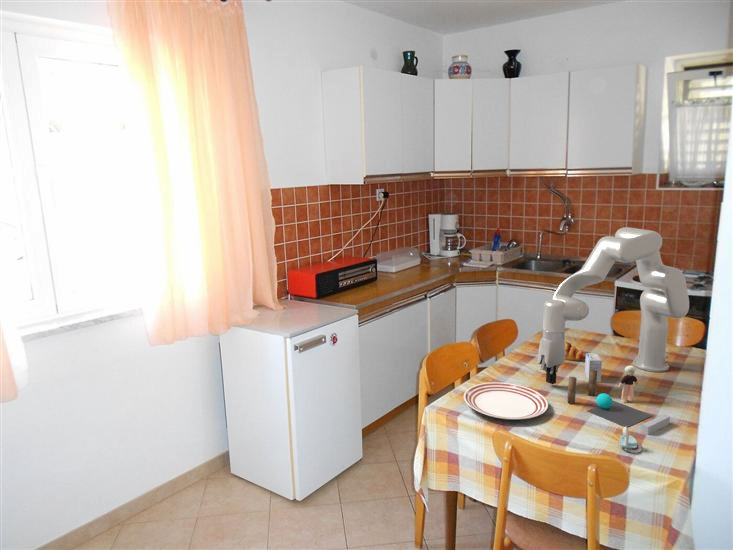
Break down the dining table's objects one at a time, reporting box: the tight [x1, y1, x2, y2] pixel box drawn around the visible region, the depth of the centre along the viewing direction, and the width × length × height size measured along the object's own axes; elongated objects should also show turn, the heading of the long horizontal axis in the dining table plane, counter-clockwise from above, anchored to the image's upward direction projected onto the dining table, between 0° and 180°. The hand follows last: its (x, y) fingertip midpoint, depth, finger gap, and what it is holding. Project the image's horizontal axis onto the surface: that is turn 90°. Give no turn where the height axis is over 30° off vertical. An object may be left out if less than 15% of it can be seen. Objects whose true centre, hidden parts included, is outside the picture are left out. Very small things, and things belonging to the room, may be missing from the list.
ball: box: [595, 392, 614, 409], centre depth 181 cm, size 5×5×5 cm
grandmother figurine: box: [617, 365, 639, 404], centre depth 185 cm, size 8×4×13 cm, turn 118°
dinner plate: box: [463, 381, 549, 420], centre depth 183 cm, size 27×27×3 cm
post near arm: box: [587, 369, 597, 397], centre depth 191 cm, size 2×2×9 cm
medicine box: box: [584, 352, 603, 383], centre depth 205 cm, size 8×4×9 cm, turn 168°
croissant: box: [565, 341, 586, 362], centre depth 229 cm, size 21×10×8 cm, turn 45°
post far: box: [567, 376, 577, 405], centre depth 185 cm, size 2×2×9 cm
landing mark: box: [586, 399, 653, 429], centre depth 177 cm, size 14×14×1 cm
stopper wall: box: [640, 413, 671, 435], centre depth 167 cm, size 12×2×2 cm, turn 123°
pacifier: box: [617, 426, 642, 454], centre depth 155 cm, size 7×6×6 cm
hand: (550, 382), depth 199 cm, fingers closed
